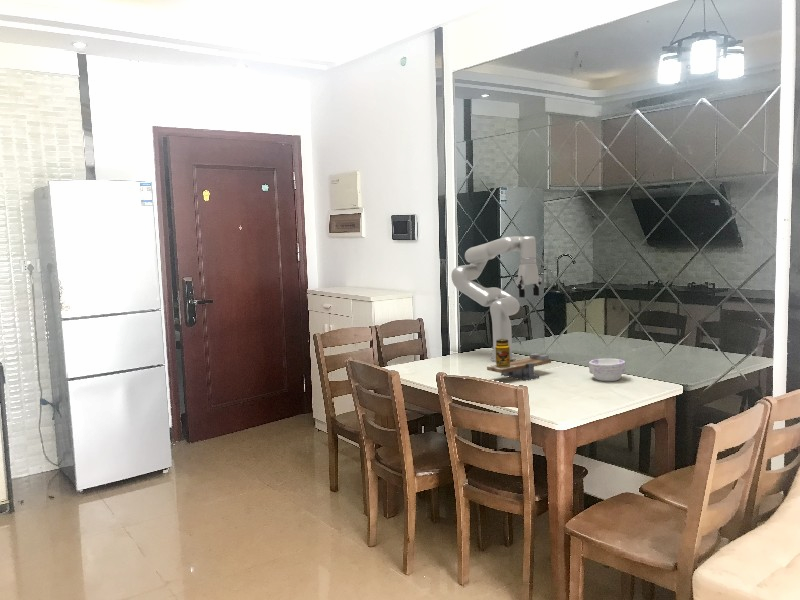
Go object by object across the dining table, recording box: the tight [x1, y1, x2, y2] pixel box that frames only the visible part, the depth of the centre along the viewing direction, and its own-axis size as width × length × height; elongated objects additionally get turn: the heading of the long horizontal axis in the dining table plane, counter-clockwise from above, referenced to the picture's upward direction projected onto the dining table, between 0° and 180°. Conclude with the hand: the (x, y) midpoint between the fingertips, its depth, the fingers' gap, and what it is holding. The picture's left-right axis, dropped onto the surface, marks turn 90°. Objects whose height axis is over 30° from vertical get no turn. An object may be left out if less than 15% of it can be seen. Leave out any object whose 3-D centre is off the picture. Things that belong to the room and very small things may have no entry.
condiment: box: [489, 339, 512, 368], centre depth 288 cm, size 7×8×12 cm
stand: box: [500, 359, 540, 381], centre depth 295 cm, size 16×8×7 cm, turn 34°
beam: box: [486, 352, 552, 374], centre depth 294 cm, size 10×30×4 cm, turn 124°
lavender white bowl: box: [588, 358, 627, 382], centre depth 282 cm, size 15×15×8 cm
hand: (529, 296), depth 320 cm, fingers open, 9 cm apart
